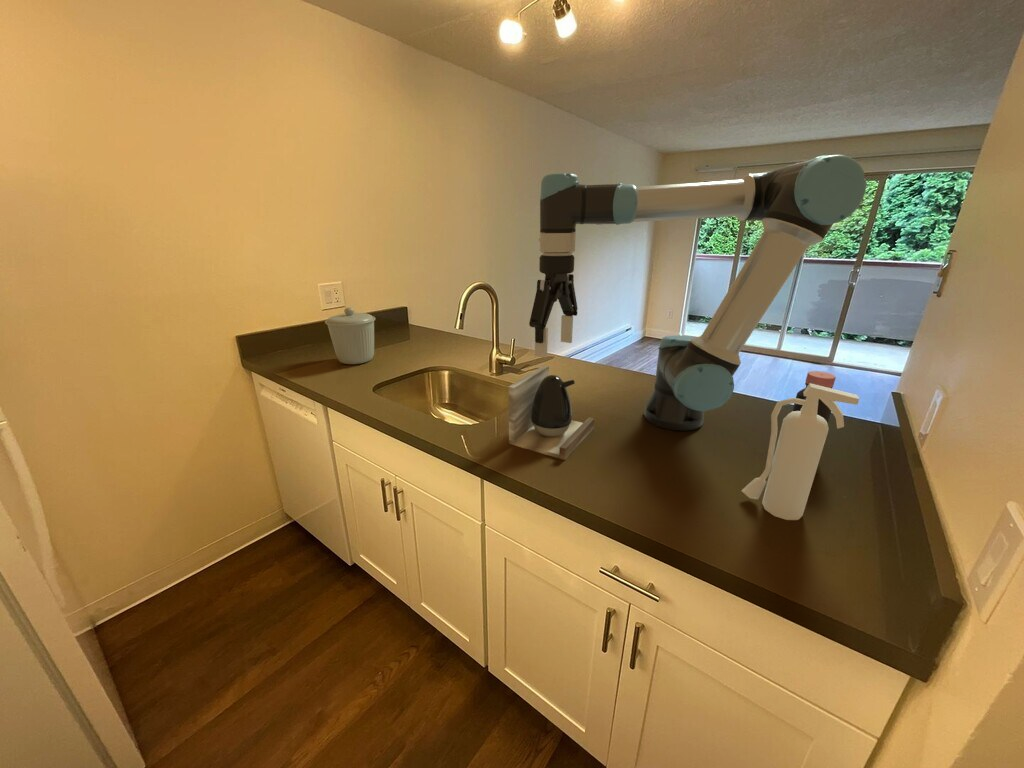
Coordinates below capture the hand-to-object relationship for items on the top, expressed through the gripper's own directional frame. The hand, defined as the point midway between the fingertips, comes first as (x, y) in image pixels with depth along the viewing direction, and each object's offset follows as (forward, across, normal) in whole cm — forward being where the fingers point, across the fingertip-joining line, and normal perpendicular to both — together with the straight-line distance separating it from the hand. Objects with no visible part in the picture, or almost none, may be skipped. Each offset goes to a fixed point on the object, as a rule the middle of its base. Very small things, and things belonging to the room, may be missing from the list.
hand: (554, 349), depth 97 cm
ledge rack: (+23, 0, 0) cm, 23 cm away
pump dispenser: (+22, 0, 0) cm, 22 cm away
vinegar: (+23, -20, +53) cm, 61 cm away
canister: (+23, -17, -94) cm, 98 cm away
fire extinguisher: (+23, +4, +49) cm, 55 cm away
